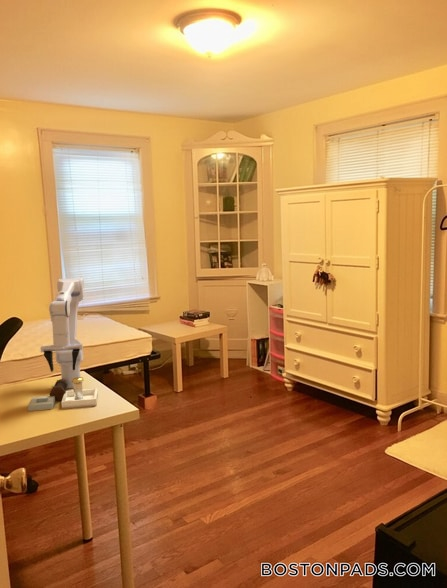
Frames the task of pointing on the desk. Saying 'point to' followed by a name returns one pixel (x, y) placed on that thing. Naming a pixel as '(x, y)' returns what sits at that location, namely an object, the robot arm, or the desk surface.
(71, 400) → the tray
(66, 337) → the robot arm
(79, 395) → the pin
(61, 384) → the dark brown faceted bar
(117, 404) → the desk surface
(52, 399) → the grey square socket block
